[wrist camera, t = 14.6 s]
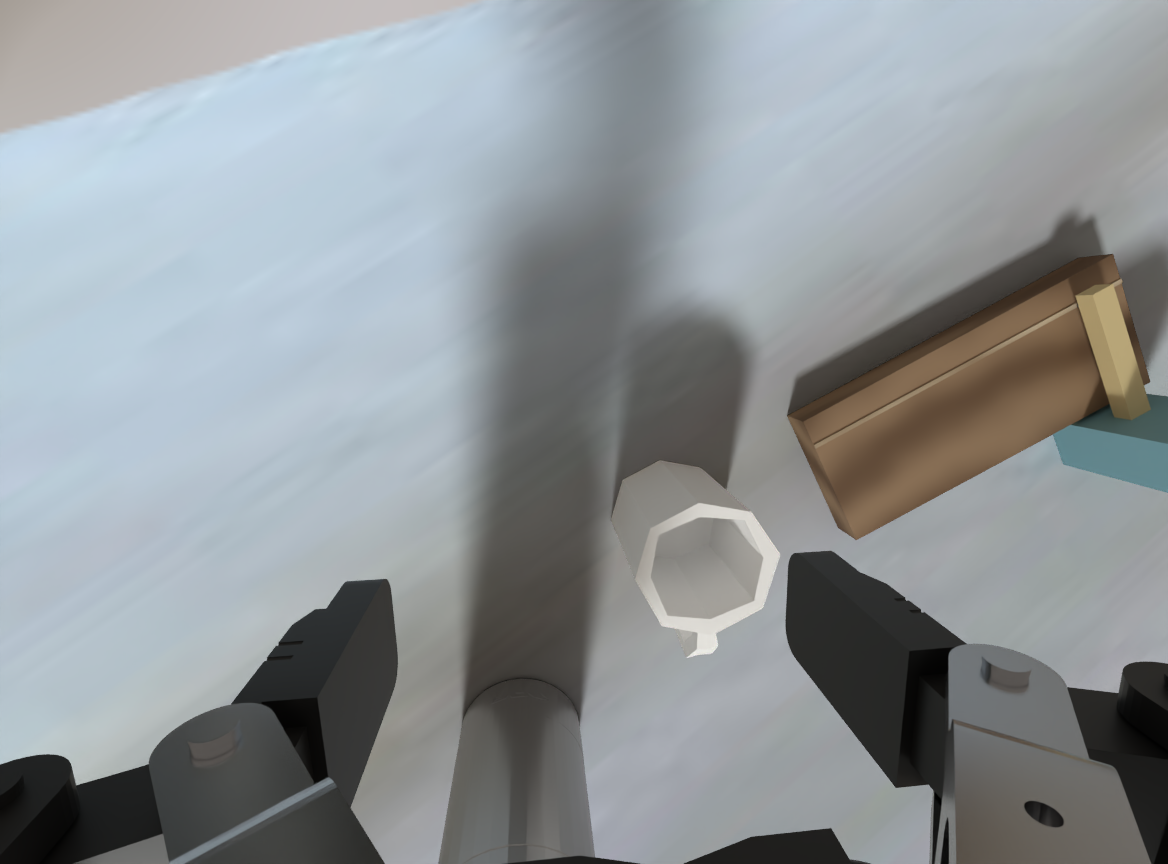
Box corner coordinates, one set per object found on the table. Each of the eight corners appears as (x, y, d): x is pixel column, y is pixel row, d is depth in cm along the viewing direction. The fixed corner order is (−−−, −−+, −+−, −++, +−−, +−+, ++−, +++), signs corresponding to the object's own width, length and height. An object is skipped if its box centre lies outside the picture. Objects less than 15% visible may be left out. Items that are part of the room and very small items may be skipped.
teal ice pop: (1120, 433, 44) (1286, 465, 35) (1063, 464, 45) (1213, 505, 35) (1069, 276, 42) (1235, 262, 32) (1009, 309, 42) (1156, 306, 32)
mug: (604, 468, 41) (626, 514, 32) (719, 450, 42) (776, 490, 32) (623, 618, 44) (650, 702, 34) (732, 599, 44) (788, 677, 35)
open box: (1115, 378, 43) (1151, 382, 41) (838, 527, 44) (857, 540, 41) (1078, 257, 41) (1114, 253, 39) (787, 415, 42) (803, 422, 39)
